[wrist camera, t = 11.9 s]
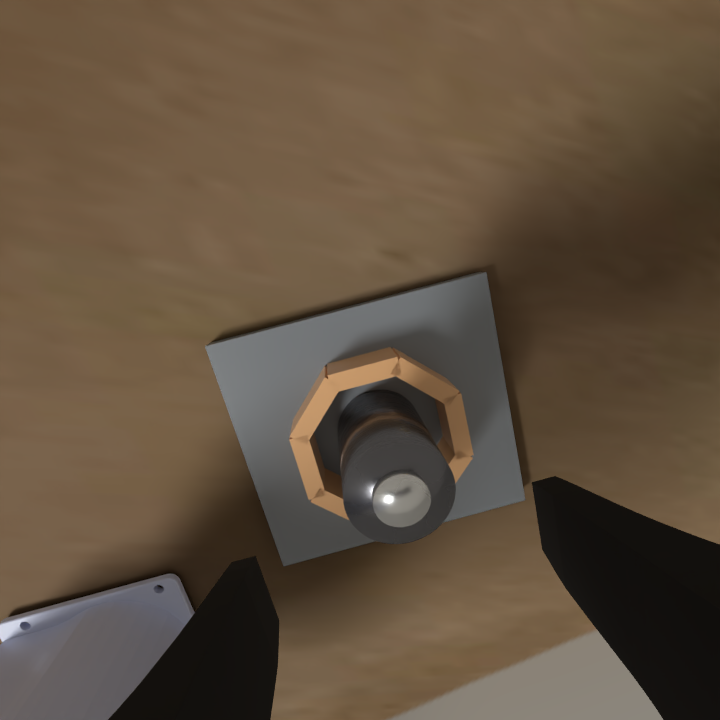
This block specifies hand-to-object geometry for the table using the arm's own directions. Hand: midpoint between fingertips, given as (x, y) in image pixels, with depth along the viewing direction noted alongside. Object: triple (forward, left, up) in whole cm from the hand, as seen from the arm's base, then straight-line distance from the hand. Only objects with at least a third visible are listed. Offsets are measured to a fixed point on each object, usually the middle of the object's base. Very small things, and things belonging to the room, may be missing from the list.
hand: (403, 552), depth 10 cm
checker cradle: (0, -1, -10) cm, 10 cm away
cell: (0, -1, -10) cm, 10 cm away
